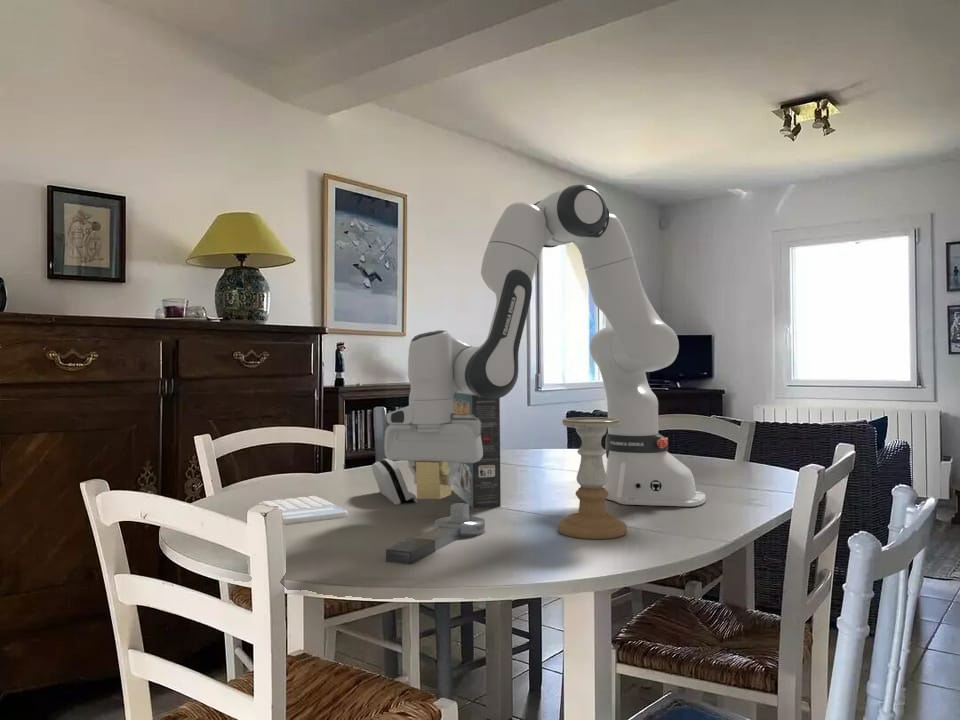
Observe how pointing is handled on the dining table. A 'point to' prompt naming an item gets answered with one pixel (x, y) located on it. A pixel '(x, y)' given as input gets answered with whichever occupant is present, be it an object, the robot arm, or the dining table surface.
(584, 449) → the candle holder
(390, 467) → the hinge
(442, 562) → the dining table surface
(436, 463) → the tan rectangular block
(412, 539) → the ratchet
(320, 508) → the calculator
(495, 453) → the cake mix box
